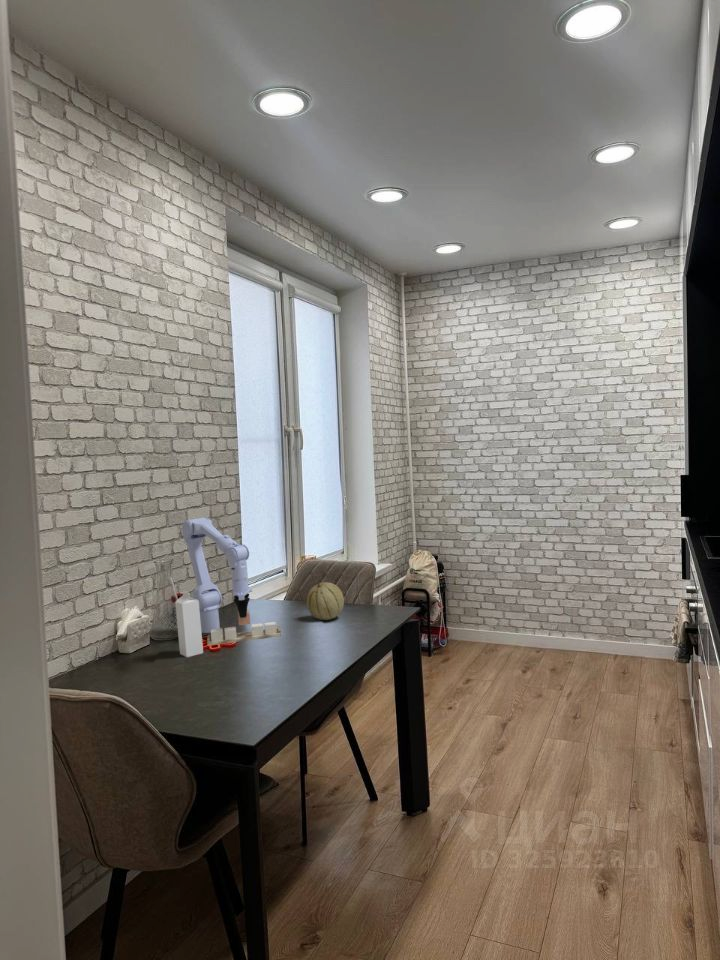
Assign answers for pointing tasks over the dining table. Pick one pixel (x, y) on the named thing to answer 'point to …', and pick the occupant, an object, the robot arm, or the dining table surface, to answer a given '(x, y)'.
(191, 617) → the milk
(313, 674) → the dining table surface
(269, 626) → the cream block
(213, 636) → the cream block
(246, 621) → the block terracotta
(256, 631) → the cream block
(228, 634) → the cream block
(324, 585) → the cantaloupe
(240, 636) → the rack
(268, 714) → the dining table surface
